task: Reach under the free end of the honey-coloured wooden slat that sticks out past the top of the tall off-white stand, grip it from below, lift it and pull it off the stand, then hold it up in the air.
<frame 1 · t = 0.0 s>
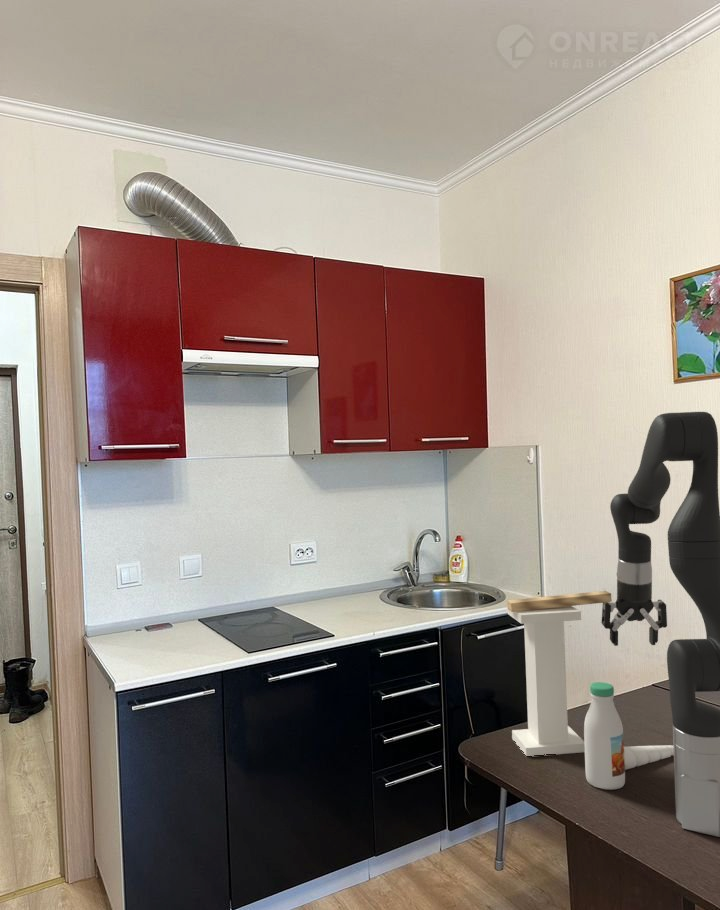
hand: (633, 644, 161), 22 cm above the table, tool pointing down, fingers open, 8 cm apart
slat: (551, 606, 160), point 32 cm above the table, touching hand, stand
milk bottle: (605, 782, 142), on the table
stand: (556, 744, 160), on the table
unicorn horn: (649, 761, 151), on the table
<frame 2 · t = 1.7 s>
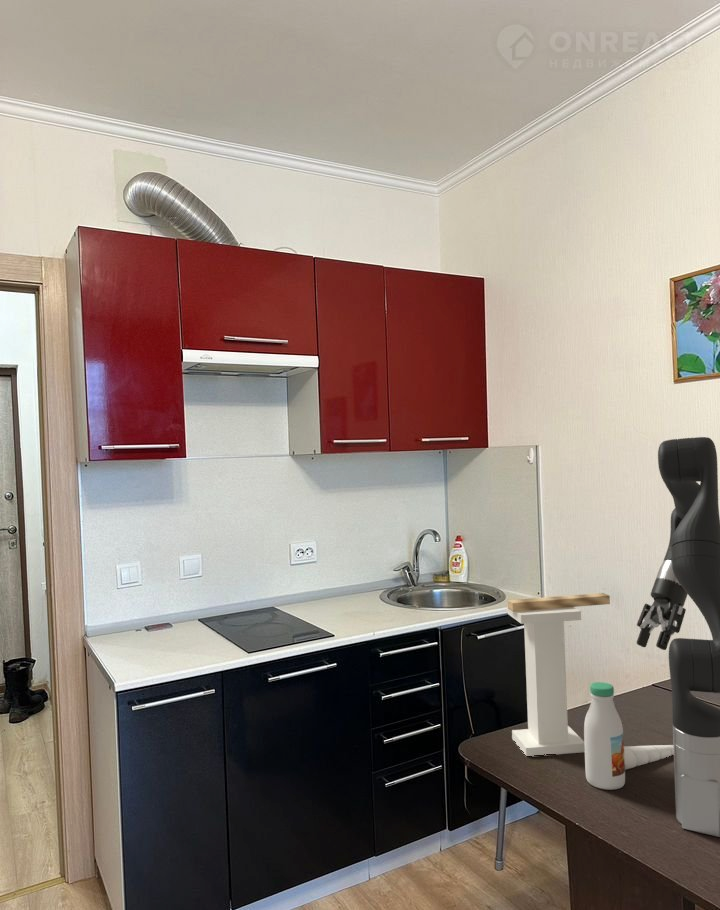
hand: (650, 647, 160), 22 cm above the table, tool tilted 30°, fingers open, 8 cm apart
slat: (551, 607, 161), point 32 cm above the table, touching stand
everything else where it was.
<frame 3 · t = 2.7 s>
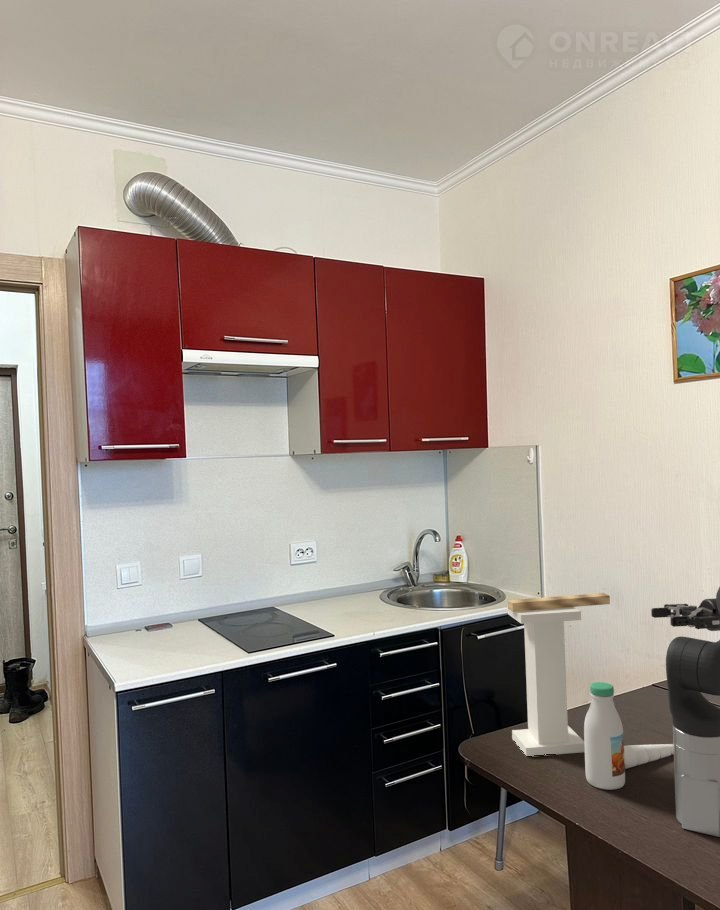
hand: (661, 617, 163), 28 cm above the table, tool horizontal, fingers open, 8 cm apart
nothing on the table moved.
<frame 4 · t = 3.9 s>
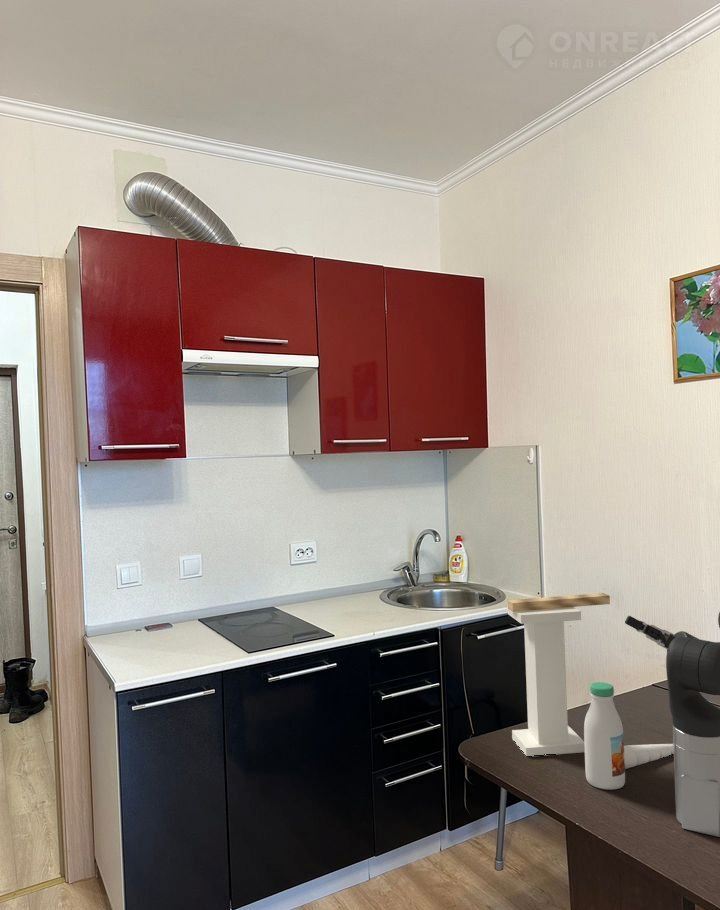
hand: (635, 623, 162), 27 cm above the table, tool pointing upward, fingers open, 8 cm apart
nothing on the table moved.
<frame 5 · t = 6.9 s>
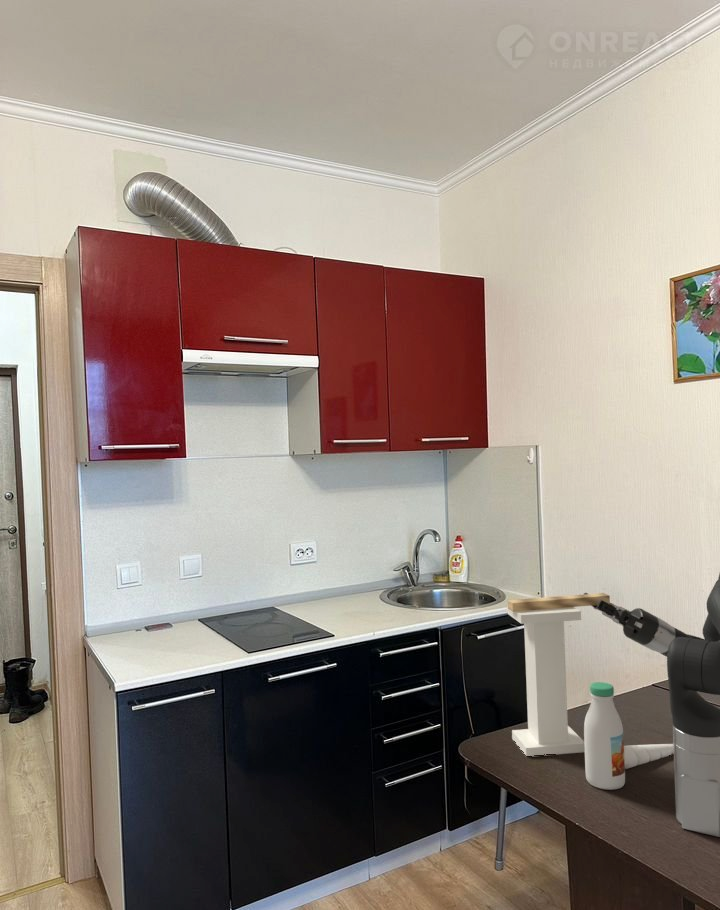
hand: (590, 600, 161), 33 cm above the table, tool pointing upward, fingers open, 8 cm apart
nothing on the table moved.
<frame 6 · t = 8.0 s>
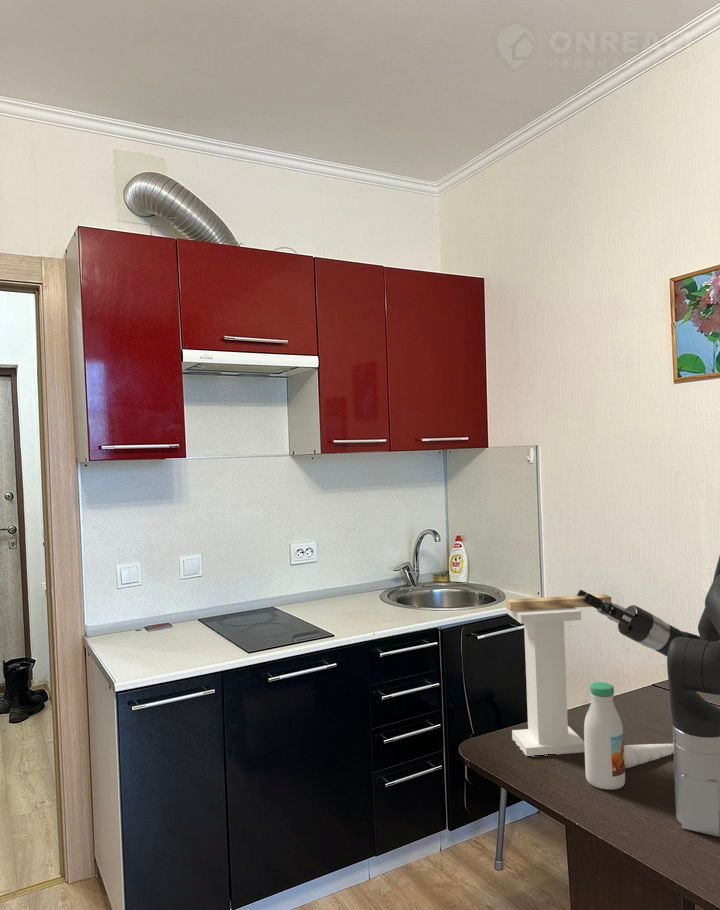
hand: (582, 595, 161), 34 cm above the table, tool pointing upward, fingers open, 3 cm apart
slat: (550, 607, 160), point 32 cm above the table, touching gripper, stand
everything else where it was.
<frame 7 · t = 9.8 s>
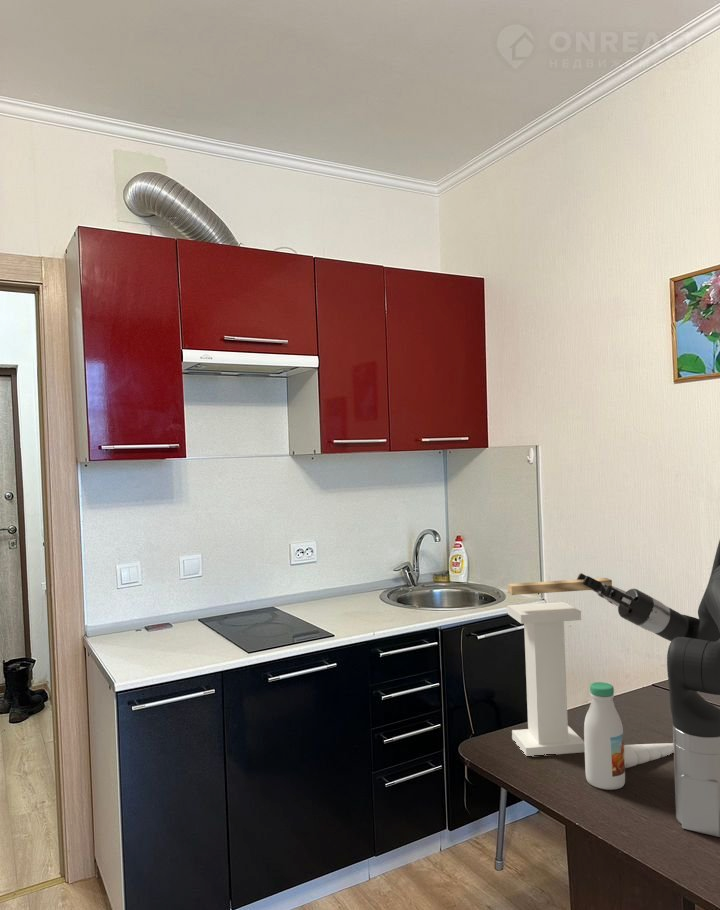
hand: (582, 578, 161), 38 cm above the table, tool pointing upward, fingers closed on slat, 3 cm apart
slat: (551, 591, 160), point 36 cm above the table, touching gripper
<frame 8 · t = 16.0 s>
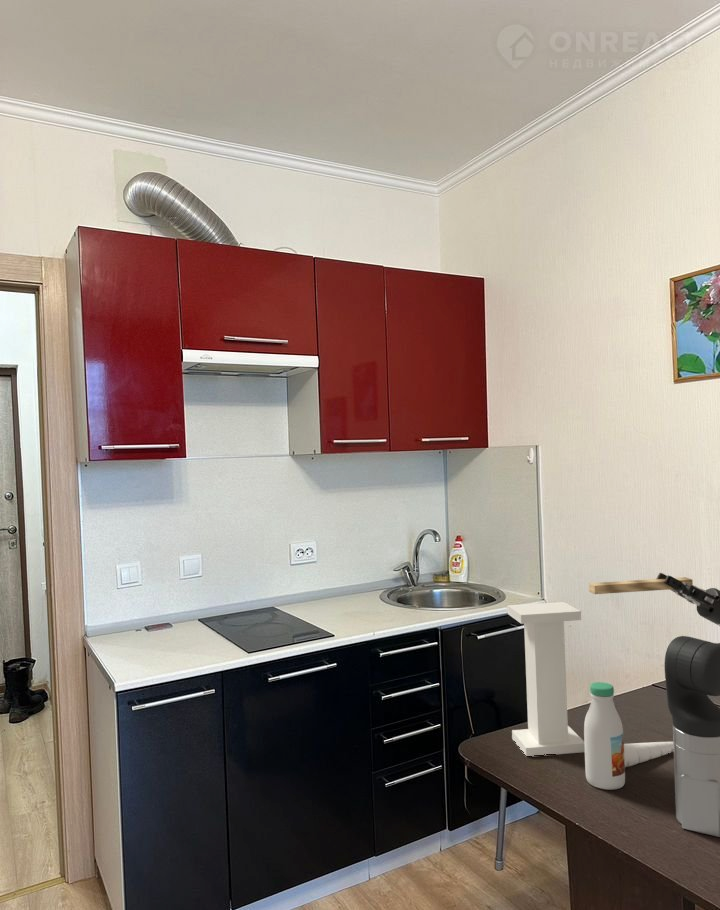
hand: (662, 577, 163), 37 cm above the table, tool pointing upward, fingers closed on slat, 3 cm apart
slat: (632, 590, 162), point 35 cm above the table, touching gripper
at the end: the gripper is holding slat; slat touching gripper; slat point 34.9 cm above the table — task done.
